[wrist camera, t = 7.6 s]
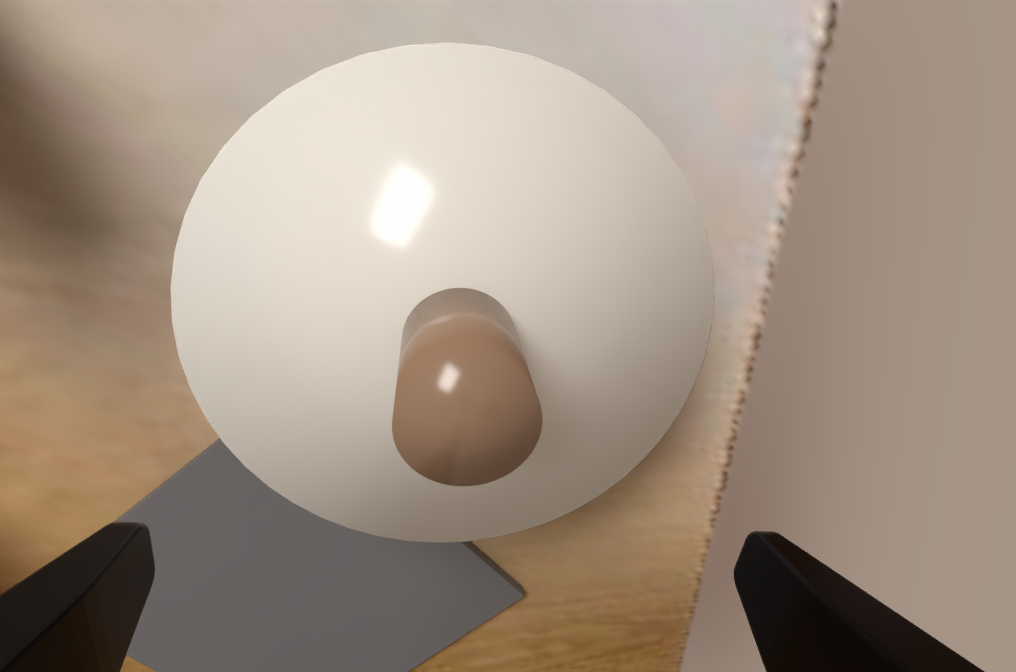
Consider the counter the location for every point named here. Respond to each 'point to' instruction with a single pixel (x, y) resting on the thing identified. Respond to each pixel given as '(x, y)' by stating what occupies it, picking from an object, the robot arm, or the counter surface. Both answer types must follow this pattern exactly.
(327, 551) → the mat
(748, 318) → the counter surface
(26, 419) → the counter surface
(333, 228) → the lid
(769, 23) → the counter surface
